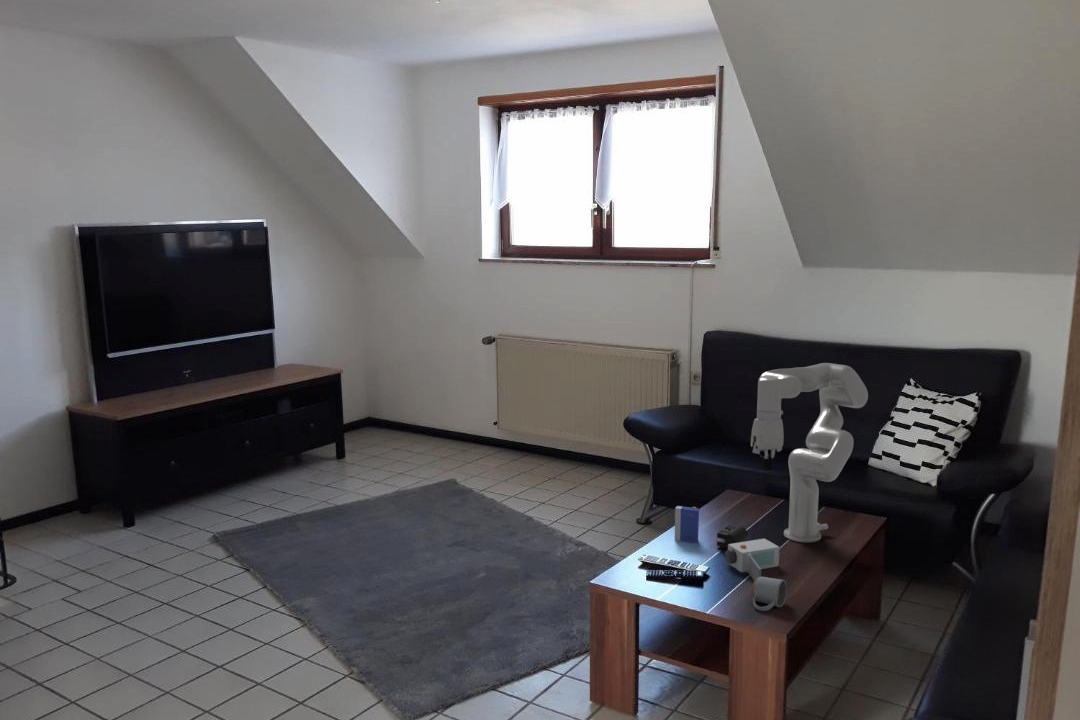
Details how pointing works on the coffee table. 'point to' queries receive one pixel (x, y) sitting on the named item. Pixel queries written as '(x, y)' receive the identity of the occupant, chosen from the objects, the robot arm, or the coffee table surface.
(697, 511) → the walkman
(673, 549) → the coffee table surface
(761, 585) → the ceramic mug
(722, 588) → the coffee table surface
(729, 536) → the power tool battery
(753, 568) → the side door
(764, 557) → the camera body
